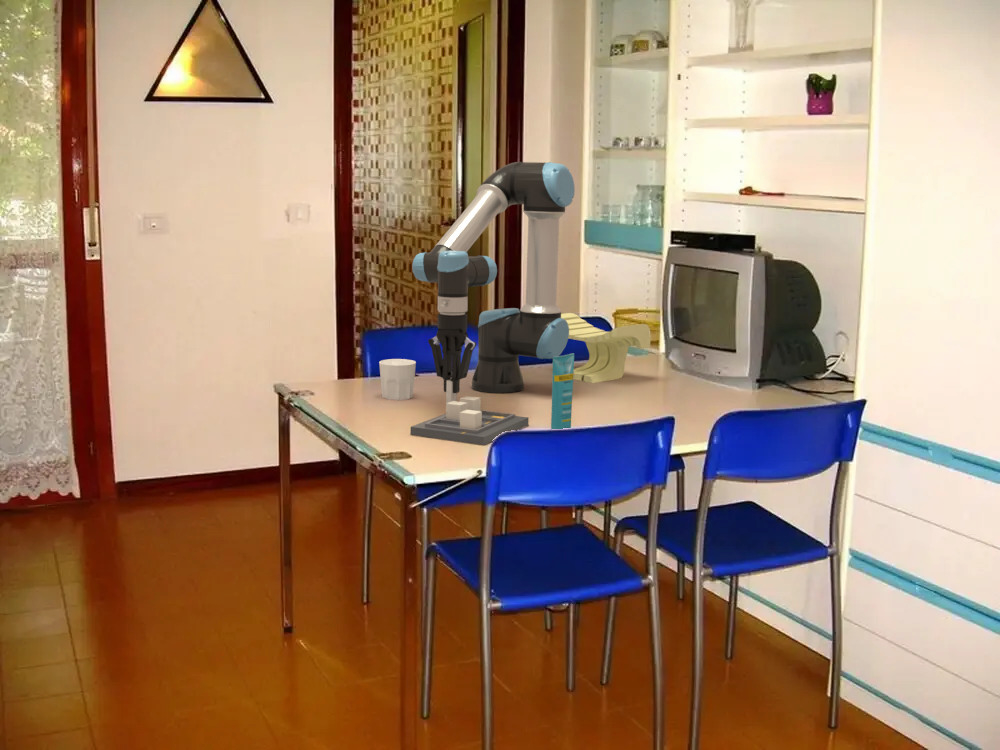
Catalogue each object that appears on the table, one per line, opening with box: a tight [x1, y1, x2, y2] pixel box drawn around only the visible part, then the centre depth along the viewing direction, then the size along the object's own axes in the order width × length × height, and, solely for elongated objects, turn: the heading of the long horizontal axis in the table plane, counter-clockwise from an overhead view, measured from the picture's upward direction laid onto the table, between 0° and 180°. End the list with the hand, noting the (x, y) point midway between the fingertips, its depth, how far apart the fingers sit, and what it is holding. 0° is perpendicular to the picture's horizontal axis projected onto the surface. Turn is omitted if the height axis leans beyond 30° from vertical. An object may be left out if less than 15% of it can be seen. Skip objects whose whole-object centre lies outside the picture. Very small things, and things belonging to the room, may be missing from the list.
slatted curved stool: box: [561, 312, 652, 384], centre depth 360 cm, size 30×16×18 cm, turn 44°
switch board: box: [410, 409, 529, 446], centre depth 289 cm, size 20×24×3 cm
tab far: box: [459, 395, 482, 411], centre depth 296 cm, size 4×4×4 cm
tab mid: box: [445, 401, 467, 420], centre depth 290 cm, size 4×4×4 cm
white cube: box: [460, 410, 482, 430], centre depth 280 cm, size 4×4×4 cm
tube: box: [550, 353, 575, 430], centre depth 287 cm, size 7×5×19 cm, turn 139°
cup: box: [378, 358, 417, 401], centre depth 325 cm, size 10×10×10 cm
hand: (451, 404), depth 299 cm, fingers closed
